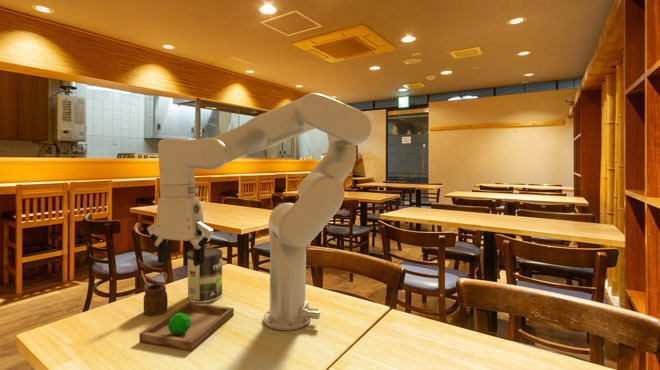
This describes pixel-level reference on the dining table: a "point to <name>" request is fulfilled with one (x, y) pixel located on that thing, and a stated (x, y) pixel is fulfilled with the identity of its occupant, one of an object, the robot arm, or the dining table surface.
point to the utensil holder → (155, 298)
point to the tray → (200, 329)
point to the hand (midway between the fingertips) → (181, 262)
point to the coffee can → (205, 277)
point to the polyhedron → (179, 323)
